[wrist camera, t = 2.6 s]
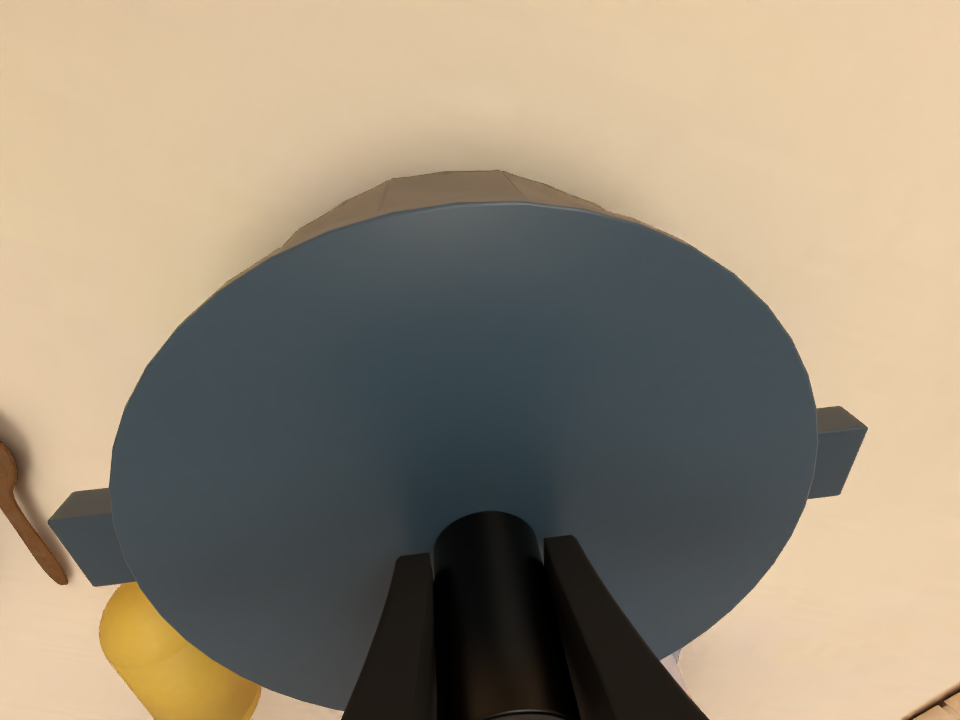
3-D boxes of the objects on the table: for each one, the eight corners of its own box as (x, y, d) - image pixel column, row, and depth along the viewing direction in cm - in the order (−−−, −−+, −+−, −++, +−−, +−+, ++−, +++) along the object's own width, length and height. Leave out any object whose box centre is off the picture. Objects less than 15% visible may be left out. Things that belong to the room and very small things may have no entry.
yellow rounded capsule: (281, 666, 24) (258, 760, 20) (201, 677, 23) (164, 774, 20) (217, 533, 19) (174, 628, 16) (116, 545, 19) (51, 644, 15)
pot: (707, 509, 21) (798, 646, 16) (236, 567, 20) (170, 735, 15) (796, 142, 14) (1017, 178, 9) (62, 201, 13) (-185, 282, 8)
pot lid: (721, 646, 17) (828, 850, 12) (255, 711, 16) (189, 955, 11) (883, 153, 9) (1342, 225, 4) (-24, 228, 8) (-584, 409, 4)
